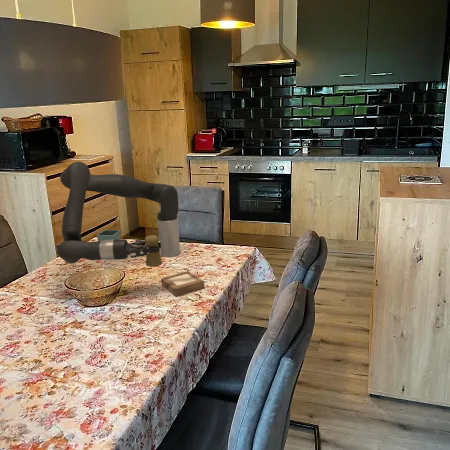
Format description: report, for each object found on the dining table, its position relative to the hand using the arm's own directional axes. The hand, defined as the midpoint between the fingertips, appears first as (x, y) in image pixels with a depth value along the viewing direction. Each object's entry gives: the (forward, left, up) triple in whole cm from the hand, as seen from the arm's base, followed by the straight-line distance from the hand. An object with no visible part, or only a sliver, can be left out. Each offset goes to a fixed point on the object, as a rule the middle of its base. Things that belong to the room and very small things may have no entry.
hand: (160, 247), depth 164 cm
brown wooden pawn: (-1, -2, -7) cm, 7 cm away
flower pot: (-62, -1, -18) cm, 64 cm away
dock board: (+2, +7, -18) cm, 19 cm away
